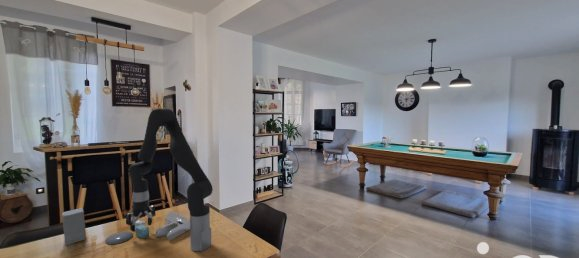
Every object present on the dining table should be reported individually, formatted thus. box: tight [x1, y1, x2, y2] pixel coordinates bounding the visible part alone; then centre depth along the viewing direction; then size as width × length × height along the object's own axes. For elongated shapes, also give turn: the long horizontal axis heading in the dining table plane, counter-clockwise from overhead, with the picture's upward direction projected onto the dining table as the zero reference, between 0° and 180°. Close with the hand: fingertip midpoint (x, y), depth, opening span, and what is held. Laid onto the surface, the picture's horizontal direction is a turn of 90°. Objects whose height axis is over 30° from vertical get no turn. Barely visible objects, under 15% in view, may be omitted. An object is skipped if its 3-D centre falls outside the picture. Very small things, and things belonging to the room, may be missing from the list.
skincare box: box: [61, 207, 87, 246], centre depth 125 cm, size 8×7×16 cm
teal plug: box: [134, 225, 150, 239], centre depth 131 cm, size 10×4×4 cm, turn 60°
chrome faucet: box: [155, 211, 190, 241], centre depth 136 cm, size 18×7×20 cm
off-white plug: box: [134, 219, 146, 228], centre depth 139 cm, size 9×3×4 cm, turn 80°
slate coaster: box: [104, 231, 134, 245], centre depth 128 cm, size 12×12×1 cm
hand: (141, 227), depth 131 cm, fingers open, 8 cm apart
